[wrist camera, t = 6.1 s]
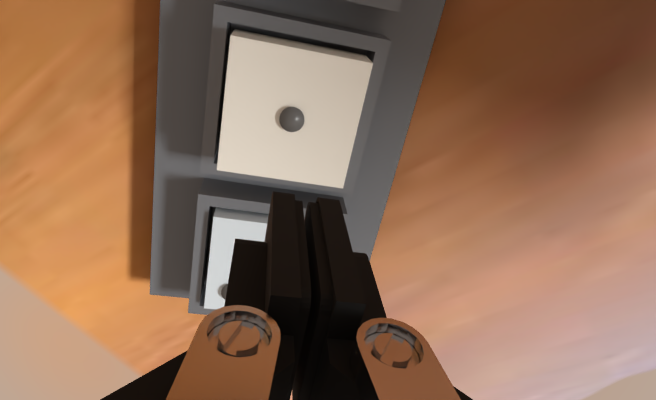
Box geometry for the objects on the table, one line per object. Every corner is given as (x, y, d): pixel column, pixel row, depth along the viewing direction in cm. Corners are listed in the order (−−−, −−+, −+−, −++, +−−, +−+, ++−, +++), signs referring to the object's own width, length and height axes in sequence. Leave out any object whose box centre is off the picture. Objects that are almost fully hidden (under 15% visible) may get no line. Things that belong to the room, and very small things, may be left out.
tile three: (325, 213, 26) (329, 233, 24) (306, 296, 28) (308, 320, 26) (218, 198, 25) (212, 218, 23) (208, 285, 27) (203, 310, 25)
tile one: (365, 55, 21) (373, 64, 19) (338, 171, 24) (343, 190, 22) (234, 28, 20) (229, 35, 18) (221, 153, 23) (216, 171, 21)
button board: (488, -188, 20) (527, -217, 17) (350, 299, 31) (358, 335, 28) (179, -285, 17) (157, -339, 14) (155, 279, 29) (140, 316, 26)
